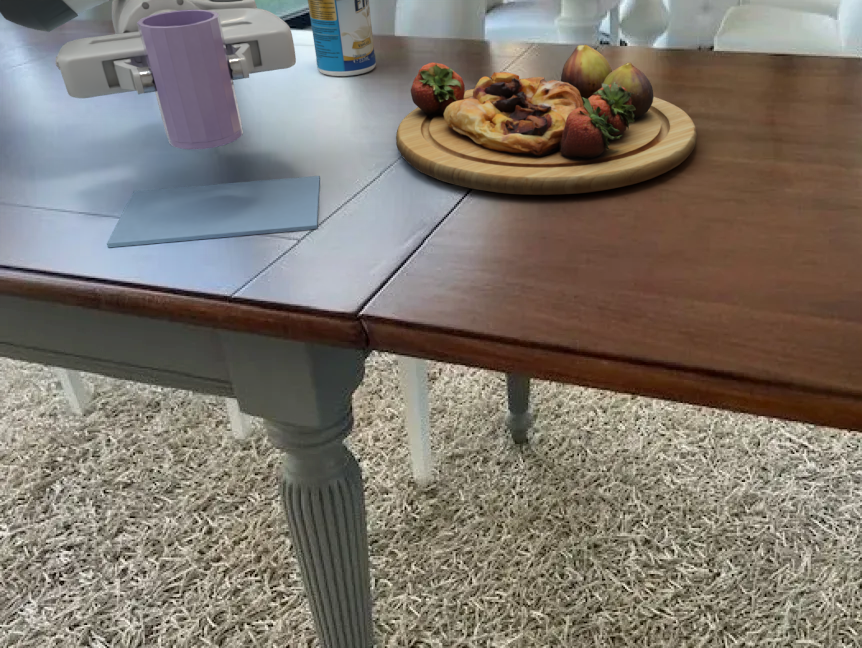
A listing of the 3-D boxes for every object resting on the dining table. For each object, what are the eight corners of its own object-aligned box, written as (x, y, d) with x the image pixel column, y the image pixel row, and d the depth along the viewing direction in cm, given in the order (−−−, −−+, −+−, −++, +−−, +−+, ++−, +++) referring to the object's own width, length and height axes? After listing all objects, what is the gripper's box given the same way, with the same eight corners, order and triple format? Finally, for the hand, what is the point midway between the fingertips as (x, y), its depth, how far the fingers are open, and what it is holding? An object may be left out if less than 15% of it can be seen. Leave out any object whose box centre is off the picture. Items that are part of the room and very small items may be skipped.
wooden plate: (334, 159, 90) (323, 79, 86) (513, 85, 111) (512, 18, 106) (591, 231, 74) (594, 137, 69) (744, 128, 95) (755, 51, 90)
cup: (163, 152, 73) (130, 29, 67) (174, 128, 78) (145, 12, 72) (239, 146, 74) (213, 24, 68) (246, 122, 79) (222, 7, 73)
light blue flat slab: (107, 247, 74) (106, 243, 74) (134, 194, 84) (133, 190, 84) (317, 229, 76) (316, 224, 76) (320, 179, 86) (319, 175, 86)
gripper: (43, 21, 77) (48, 55, 67) (267, -6, 84) (304, 21, 74) (65, 91, 81) (73, 134, 70) (279, 60, 88) (315, 95, 77)
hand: (193, 76), depth 72 cm, fingers closed on cup, 6 cm apart
